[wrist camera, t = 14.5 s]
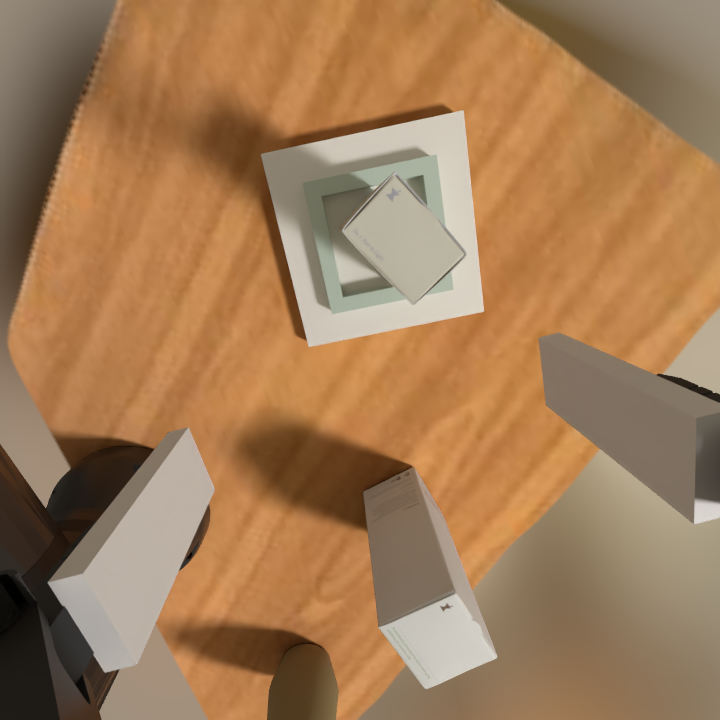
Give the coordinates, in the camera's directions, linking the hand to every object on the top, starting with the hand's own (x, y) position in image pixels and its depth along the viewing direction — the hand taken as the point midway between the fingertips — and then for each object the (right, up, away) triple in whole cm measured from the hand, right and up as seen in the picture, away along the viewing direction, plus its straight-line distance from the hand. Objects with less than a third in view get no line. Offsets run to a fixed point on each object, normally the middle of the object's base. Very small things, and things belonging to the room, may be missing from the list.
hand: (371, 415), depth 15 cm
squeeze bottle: (-7, -35, +36) cm, 51 cm away
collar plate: (+1, +13, +20) cm, 24 cm away
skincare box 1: (+2, +12, +19) cm, 23 cm away
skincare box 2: (+5, -14, +29) cm, 33 cm away
